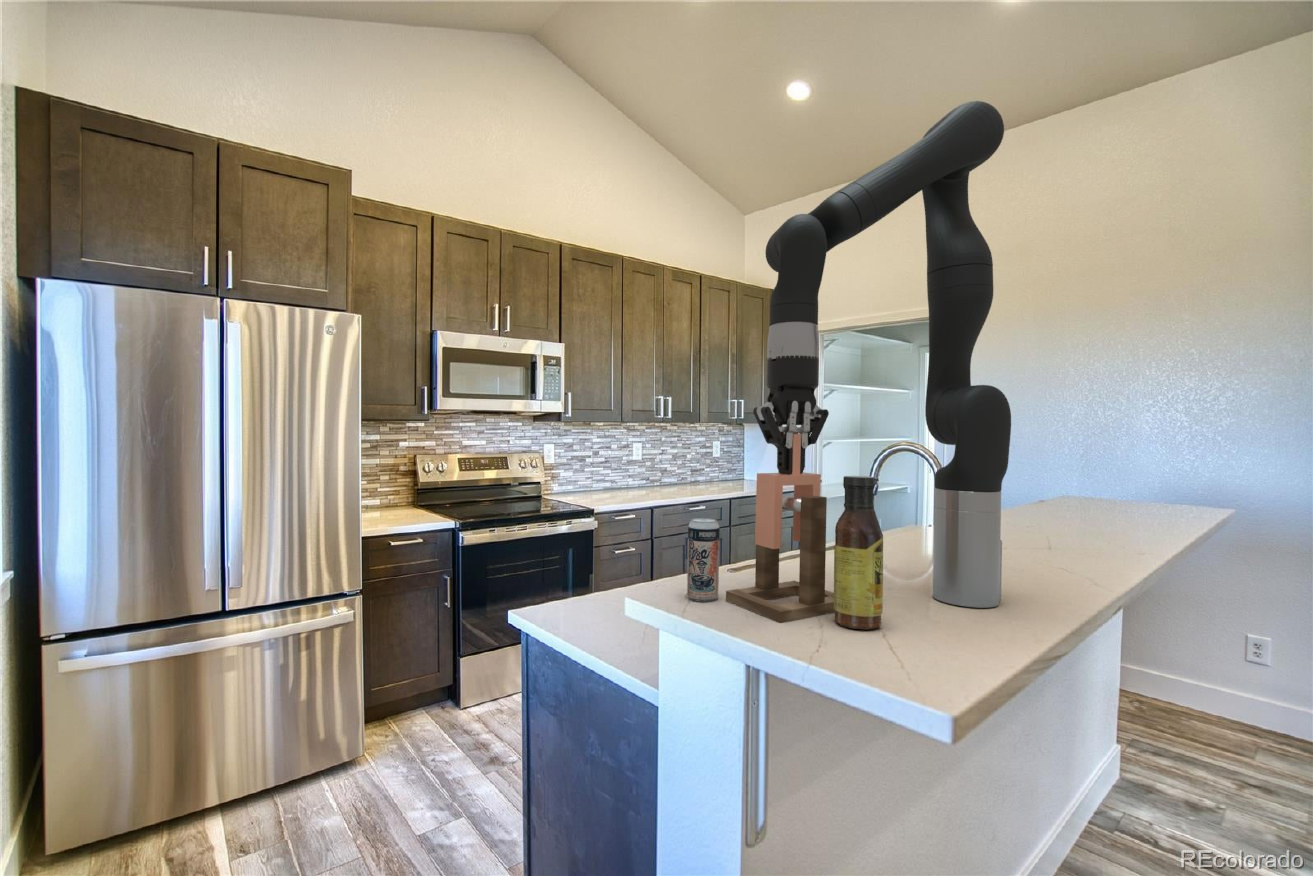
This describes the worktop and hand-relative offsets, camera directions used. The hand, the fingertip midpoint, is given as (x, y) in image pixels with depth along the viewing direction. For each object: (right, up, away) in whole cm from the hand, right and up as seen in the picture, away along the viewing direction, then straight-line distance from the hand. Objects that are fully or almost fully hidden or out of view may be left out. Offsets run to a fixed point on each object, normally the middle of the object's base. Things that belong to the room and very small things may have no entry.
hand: (790, 473), depth 89 cm
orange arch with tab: (0, -11, +1) cm, 11 cm away
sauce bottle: (+7, -20, -8) cm, 23 cm away
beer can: (-13, -20, +3) cm, 24 cm away
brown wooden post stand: (0, -20, 0) cm, 20 cm away
